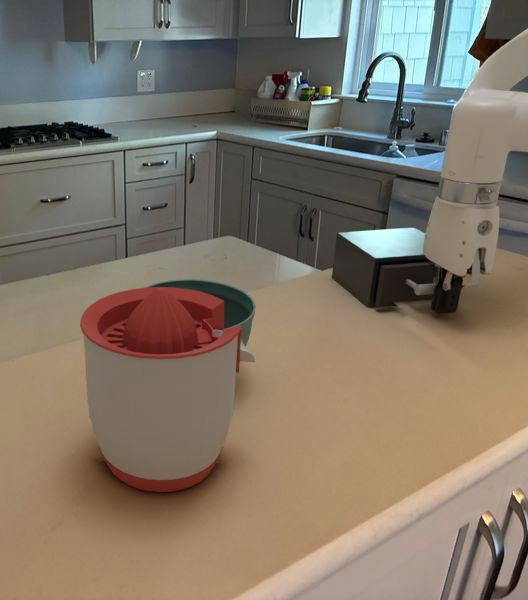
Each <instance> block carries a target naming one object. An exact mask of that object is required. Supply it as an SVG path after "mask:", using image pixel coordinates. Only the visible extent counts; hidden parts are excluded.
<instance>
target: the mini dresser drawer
mask: <svg viewBox="0 0 528 600" xmlns="http://www.w3.org/2000/svg"><path fill="white" fill-rule="evenodd" d="M412 261H414V262H416V263H410V264H396V265H386V262H380V263H379V267H378V273H377V280H376V287H375V293H374V299H376V303H375V305H376V306H378V307H377V308H391V307H392V308H393V307H399V305H398V304H396V303H399V302H413V301H423V300H432V298H433V293H434V288H435V284H434V282H433V276H434V271H433V268H432V267H431V266H430V265H429V264H428V263H427V261H426V259H420V260H412ZM455 277H457V276H455Z"/></svg>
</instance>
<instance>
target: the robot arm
mask: <svg viewBox="0 0 528 600" xmlns="http://www.w3.org/2000/svg"><path fill="white" fill-rule="evenodd" d="M527 77H528V28H526V29H525V30H523V31H522V32H520V33H519V34H517V35H516V36H514V37H513V38H511V40H509V41H508V42H506V43H505V44H504V45H502V46H501V47H499V49H497V50H496V51H494V52H493V53H492V54H491V55H490V56H489V57H487V59H486V60H485V61H484V62H483V63H482V65H481V66H480V67H479V68H478V70H477V71H476V72H475V74H474V76H473V77H472V79H471V81H470V82H469V84H468V85H467V87H466V88H465V90H464V91H463V94H462V95H461V97H460V99H459V100H458V101H457V102H456V103H455V104H454V106H453V108H452V112H451V117H450V122H449V127H448V134H447V137H446V144H445V149H444V154H443V159H442V166H441V171H440V176H439V181H438V185H437V186H438V187H437V192H436V197H435V200H434V202H433V205H432V207H431V210H430V215H429V218H428V222H427V226H426V229H425V239H424V246H423V253H424V255H425V256H426V257H427V258H426V261H427V263H428V264H429V265H430V266H431V267H432V268H433V271H434V276H433V282H434V284H435V288H434V293H433V298H432V299H431V303H430V310H432V312H435V313H436V314H437V315H442V314H454V313H456V312H457V310H458V306H459V301H460V297H461V291H462V290H465V288H466V287H468V288H471V287H472V288H473V287H479V286H480V281H481V280H480V279H481V277H480V276H481V275H484V276H485V275H490V274H491V273H492V270H493V268H494V265H495V264H494V263H495V258H496V253H497V249H498V248H497V247H498V240H499V233H500V232H499V231H500V206H498V205H497V203H498V199H499V196H500V191H501V186H502V182H503V176H504V172H505V169H506V163H507V159H508V156H509V153H510V152H522V153H523V152H524V153H528V92H525V91H517V90H516V91H515V90H511V89H512V88H513V87H514V86H516V85H517V84H518V83H519V82H520V81H522V80H523V79H525V78H527ZM455 276H457V277H455Z"/></svg>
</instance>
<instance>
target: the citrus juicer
mask: <svg viewBox="0 0 528 600" xmlns="http://www.w3.org/2000/svg"><path fill="white" fill-rule="evenodd" d="M79 326H80V329H81V332H82V334H83V344H84V346H83V347H84V363H85V377H86V378H85V380H86V398H87V405H88V406H87V407H88V415H89V418H90V423H91V426H92V429H93V434H94V436H95V439H96V442H97V444H98V448H99V451H100V454H101V456H102V458H103V460H104V461H105V463H106V464H107V467H108V468H109V469H110V471H111V472H112V474H113V475H114V476H115V477H116V478H117V479H118V480H119V481H121V482H123V483H125V484H126V485H128V486H131V487H133V488H135V489H138V490H142V491H146V492H155V493H168V492H169V493H171V492H177V491H181V490H182V491H183V490H185V489H188V488H191V487H193V486H196V485H197V484H199V483H200V482H202V481H203V480H204V479H205V478H206V477H207V476H209V474H210V473H211V472H212V470H213V468H214V467H215V465H216V463H217V462H218V460H219V458H220V457H221V454H222V451H223V448H224V444H225V443H226V440H227V436H228V434H229V430H230V425H231V423H232V419H233V413H234V407H235V406H234V405H235V396H236V395H235V393H236V377H237V376H236V375H237V374H239V373H240V364H241V363H243V362H244V363H256V360H255V357H254V355H253V354H252V352H250V351H249V349H248V348H247V346H246V347H245V345H244V343H243V341H242V339H241V328H242V327H241V325H238V326H235V327H231V328H227V329H225V330H224V301H223V300H221V299H219V298H217V297H215V296H213V295H210V294H207V293H203V292H200V291H195V290H190V289H183V288H173V287H148V288H144V287H141V288H132V289H127V290H122V291H118V292H115V293H111V294H108V295H106V296H104V297H102V298H99V299H98V300H96V301H95V302H93V303H91V304H90V305H89V306H88V307H87V308H86V309H85V310H84V311H83V313H82V315H81V317H80V323H79Z"/></svg>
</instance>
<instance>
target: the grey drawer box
mask: <svg viewBox="0 0 528 600" xmlns="http://www.w3.org/2000/svg"><path fill="white" fill-rule="evenodd" d="M425 234H426V232H423V231H421V230H419V229H417V228H415V227H403V228H402V227H401V228H388V229H375V230H374V229H373V230H371V229H370V230H357V231H342V232H336V237H335V247H334V253H333V254H334V255H333V262H332V271H331V272H332V273H331V278H332V280H334V281H335V282H337V283H338V284H339V285H340V286H341V287H342V288H344V289H345V290H346V291H347V292H348V293H350V294H351V295H352V296H353V297H354V298H356V299H357V300H358V301H360V303H361V304H363V305H364V306H365V307H367V308H369V309H370V308H379V307H378V306H376V305H375V303H376V299H374V293H375V287H376V280H377V273H378V267H379V263H380V262H393V261H407V260H420V259H426V258H427V257H426V256H425V255H424V253H423V246H424V239H425Z"/></svg>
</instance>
